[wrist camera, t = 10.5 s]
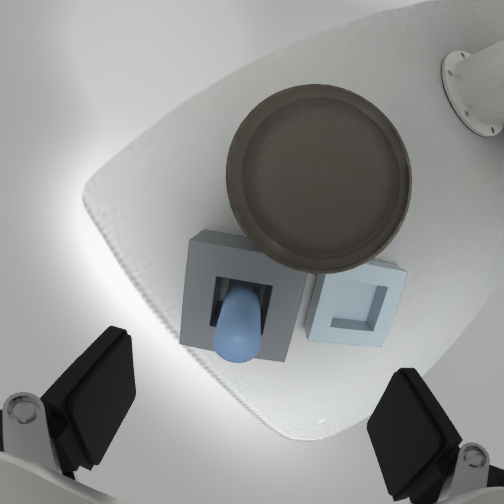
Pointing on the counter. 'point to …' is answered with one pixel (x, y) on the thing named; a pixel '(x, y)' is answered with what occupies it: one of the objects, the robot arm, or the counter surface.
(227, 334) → the plug
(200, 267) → the port
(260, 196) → the coffee can
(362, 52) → the counter surface
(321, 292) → the square frame plate
